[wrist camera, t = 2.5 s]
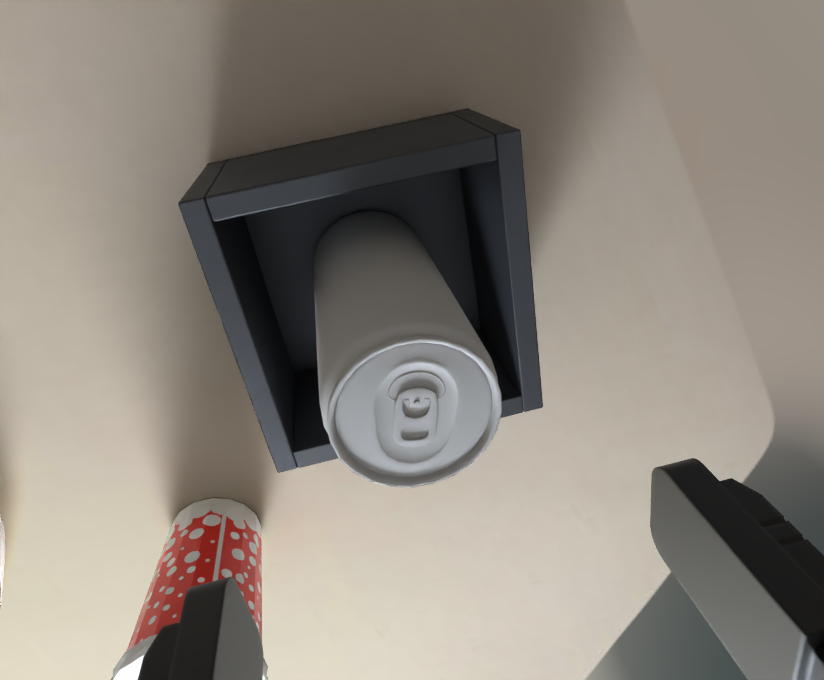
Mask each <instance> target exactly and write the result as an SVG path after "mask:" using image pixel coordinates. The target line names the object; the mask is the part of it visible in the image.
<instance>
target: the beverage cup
mask: <svg viewBox="0 0 824 680" xmlns="http://www.w3.org/2000/svg"><path fill="white" fill-rule="evenodd" d="M227 577H233V578H234V579H235V580H236V582H237V584H238V586H239V588H240V591H241V593H242V595H243V597H244V599H245V601H246V603H247V606H248V608H249V610H250V612H251V614H252V616H253V618H254V621H255V623H256V625H257V627H258V630H259V633H260V637H261V641H262V596H261V525H260V523H259V520H258V518H257V515H256V514H255V513H254V512H253V511H251V510H250V509H249V508H248V507H247V506H246V505H244V504H241V503H238V502H236V501H233V500H230V499H218V498H210V499H206V500H202V501H198V502H194V503H192V504H191V505H189V506H188V507H186V508H185V509H183V510H182V511H180V512H179V514H178V515H177V517H176V518H175V520H174V522H173V523H172V526H171V528H170V531H169V534H168V537H167V540H166V542H165V545H164V548H163V551H162V554H161V556H160V559H159V562H158V565H157V568H156V570H155V573H154V576H153V579H152V582H151V584H150V587H149V590H148V593H147V596H146V598H145V601H144V604H143V607H142V610H141V612H140V615H139V618H138V621H137V624H136V627H135V629H134V632H133V635H132V638H131V641H130V643H129V646H128V649H127V651H126V652H125V653H124V655H123V656H122V658H121V659H120V661H119V662H118V664H117V665H116V667H115V668H114V670H113V677H112V678H111V680H138V676H139V672H140V668H141V664H142V661H143V657H144V655H145V654H146V652H147V651H148V649H149V647H150V646H151V644H152V642H153V641H154V639H155V638H156V636H157V634H158V633H159V631H160V630H161V628H162V627H163V626H167V625H170V624H174V623H178V622H180V618H181V613H182V608H183V604H184V599H185V595H186V592H187V590H188V589H189V588H190V587H193V586H196V585H200V584H204V583H208V582H212V581H216V580H220V579H223V578H227ZM267 668H268V666H267V664H266V662H265V660H264V658H263V680H268V677H267Z"/></svg>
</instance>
